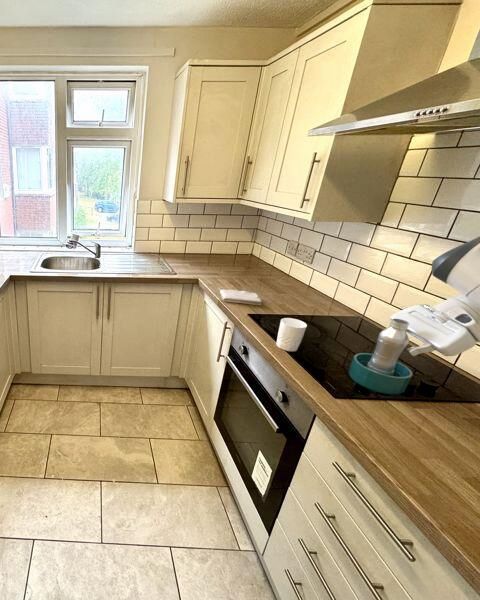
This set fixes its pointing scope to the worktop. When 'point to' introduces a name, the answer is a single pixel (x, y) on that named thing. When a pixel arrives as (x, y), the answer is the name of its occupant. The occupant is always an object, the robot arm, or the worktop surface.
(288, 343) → the white cup
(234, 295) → the washcloth
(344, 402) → the worktop surface
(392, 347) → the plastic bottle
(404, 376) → the bowl
